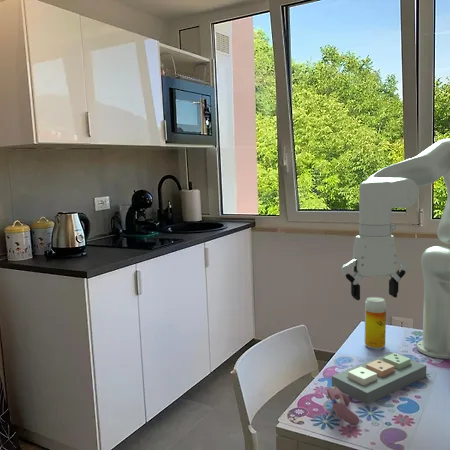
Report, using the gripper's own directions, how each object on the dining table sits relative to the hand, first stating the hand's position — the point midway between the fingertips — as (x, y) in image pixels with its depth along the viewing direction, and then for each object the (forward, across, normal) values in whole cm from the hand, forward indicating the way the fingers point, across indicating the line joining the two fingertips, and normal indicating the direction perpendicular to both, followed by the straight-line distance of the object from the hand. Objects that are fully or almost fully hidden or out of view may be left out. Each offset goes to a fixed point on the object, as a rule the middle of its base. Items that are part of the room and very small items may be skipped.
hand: (374, 297), depth 117 cm
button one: (+21, +4, +3) cm, 22 cm away
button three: (+22, -8, -4) cm, 23 cm away
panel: (+23, -2, 0) cm, 23 cm away
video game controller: (+23, +14, +13) cm, 30 cm away
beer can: (+23, -10, -22) cm, 34 cm away
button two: (+21, -2, 0) cm, 21 cm away
